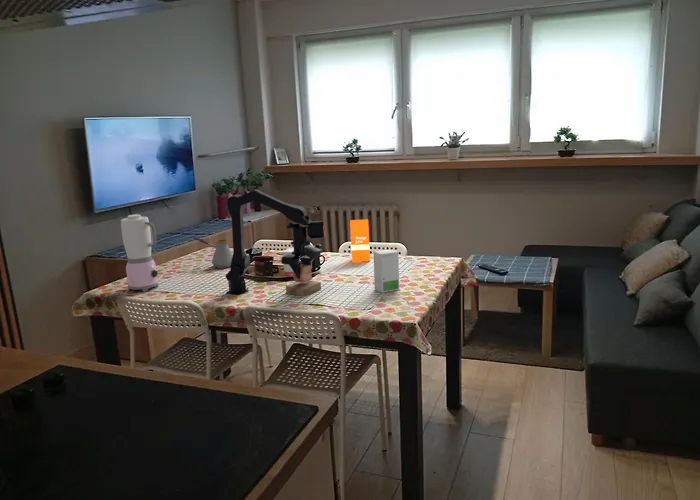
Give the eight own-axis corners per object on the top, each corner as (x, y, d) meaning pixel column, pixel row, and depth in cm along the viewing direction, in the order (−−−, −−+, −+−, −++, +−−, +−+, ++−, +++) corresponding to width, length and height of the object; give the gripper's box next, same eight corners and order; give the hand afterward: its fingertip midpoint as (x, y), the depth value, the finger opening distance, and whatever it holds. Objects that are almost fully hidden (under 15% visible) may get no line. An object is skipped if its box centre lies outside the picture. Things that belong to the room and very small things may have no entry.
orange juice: (370, 261, 268) (368, 220, 264) (351, 262, 269) (349, 221, 264) (369, 257, 276) (368, 218, 272) (352, 258, 276) (350, 218, 272)
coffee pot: (239, 263, 278) (237, 234, 275) (230, 269, 267) (227, 238, 264) (200, 263, 283) (197, 234, 280) (189, 269, 272) (186, 239, 269)
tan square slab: (286, 293, 224) (285, 285, 223) (301, 286, 232) (301, 279, 231) (306, 296, 218) (305, 288, 218) (321, 289, 226) (320, 282, 226)
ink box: (294, 278, 246) (292, 251, 243) (284, 277, 247) (282, 251, 244) (300, 273, 254) (299, 247, 251) (290, 272, 255) (288, 247, 252)
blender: (122, 291, 238) (111, 217, 231) (141, 283, 249) (131, 213, 243) (153, 293, 233) (143, 217, 226) (170, 285, 244) (161, 213, 237)
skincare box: (382, 293, 216) (380, 254, 213) (373, 289, 222) (372, 251, 219) (400, 289, 220) (399, 251, 217) (391, 285, 226) (390, 248, 222)
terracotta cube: (294, 281, 223) (293, 266, 222) (301, 278, 227) (300, 264, 226) (304, 282, 221) (303, 268, 219) (311, 279, 225) (310, 265, 223)
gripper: (301, 244, 208) (304, 285, 212) (330, 235, 224) (332, 273, 227) (278, 242, 214) (281, 281, 218) (307, 233, 230) (310, 270, 233)
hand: (302, 276), depth 224 cm, fingers closed on terracotta cube, 5 cm apart
